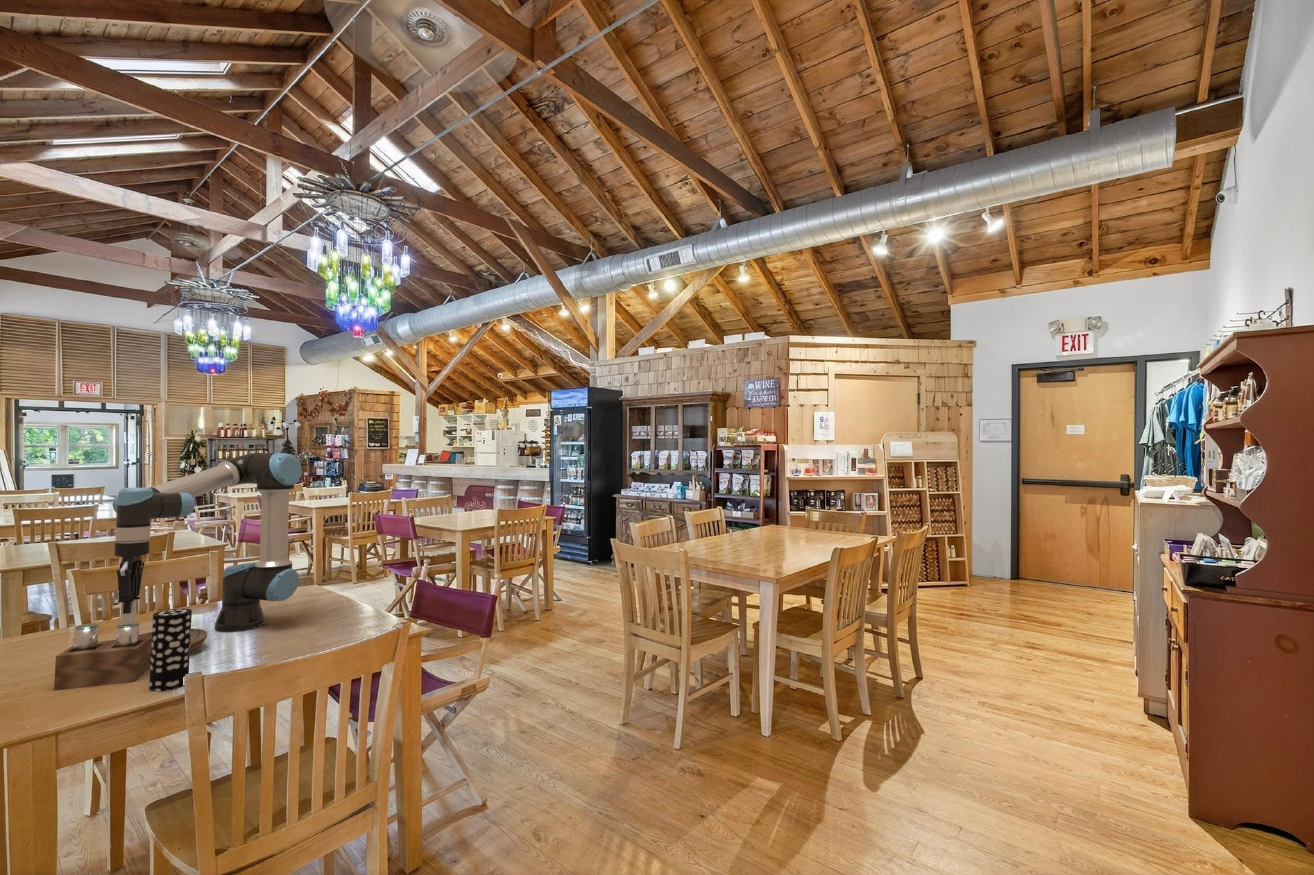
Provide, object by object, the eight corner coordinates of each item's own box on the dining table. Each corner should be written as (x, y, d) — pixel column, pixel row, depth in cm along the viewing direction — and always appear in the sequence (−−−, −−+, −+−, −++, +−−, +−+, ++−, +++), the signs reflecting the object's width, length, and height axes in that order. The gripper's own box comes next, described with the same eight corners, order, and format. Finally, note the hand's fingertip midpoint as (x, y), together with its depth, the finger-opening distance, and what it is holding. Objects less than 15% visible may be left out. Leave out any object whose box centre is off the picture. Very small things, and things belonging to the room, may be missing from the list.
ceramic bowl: (129, 647, 194) (130, 631, 194) (215, 640, 203) (216, 625, 203) (95, 670, 173) (96, 653, 173) (194, 661, 182) (194, 645, 182)
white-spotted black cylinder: (164, 680, 166) (167, 608, 167) (195, 679, 167) (199, 608, 168) (140, 691, 158) (145, 616, 159) (173, 691, 159) (177, 616, 159)
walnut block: (150, 667, 176) (152, 636, 176) (134, 681, 165) (136, 648, 165) (75, 674, 169) (77, 643, 169) (53, 690, 158) (55, 656, 158)
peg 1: (100, 653, 168) (101, 623, 169) (92, 658, 164) (94, 627, 164) (78, 655, 166) (79, 624, 167) (69, 660, 162) (71, 629, 162)
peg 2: (140, 651, 172) (141, 621, 172) (133, 656, 168) (135, 626, 168) (119, 653, 170) (120, 623, 170) (112, 658, 166) (113, 627, 166)
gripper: (125, 538, 175) (120, 619, 174) (105, 544, 163) (100, 631, 162) (157, 538, 178) (152, 617, 177) (140, 543, 166) (135, 628, 165)
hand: (127, 623), depth 169 cm, fingers closed
